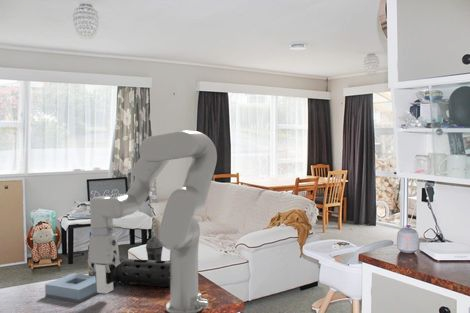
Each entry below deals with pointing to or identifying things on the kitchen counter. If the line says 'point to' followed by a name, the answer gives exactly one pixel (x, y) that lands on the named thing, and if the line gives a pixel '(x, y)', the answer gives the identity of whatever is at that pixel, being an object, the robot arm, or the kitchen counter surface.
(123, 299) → the kitchen counter surface
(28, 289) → the kitchen counter surface
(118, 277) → the muzzle brake
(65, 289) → the socket plate
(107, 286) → the white square peg
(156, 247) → the beverage cup
